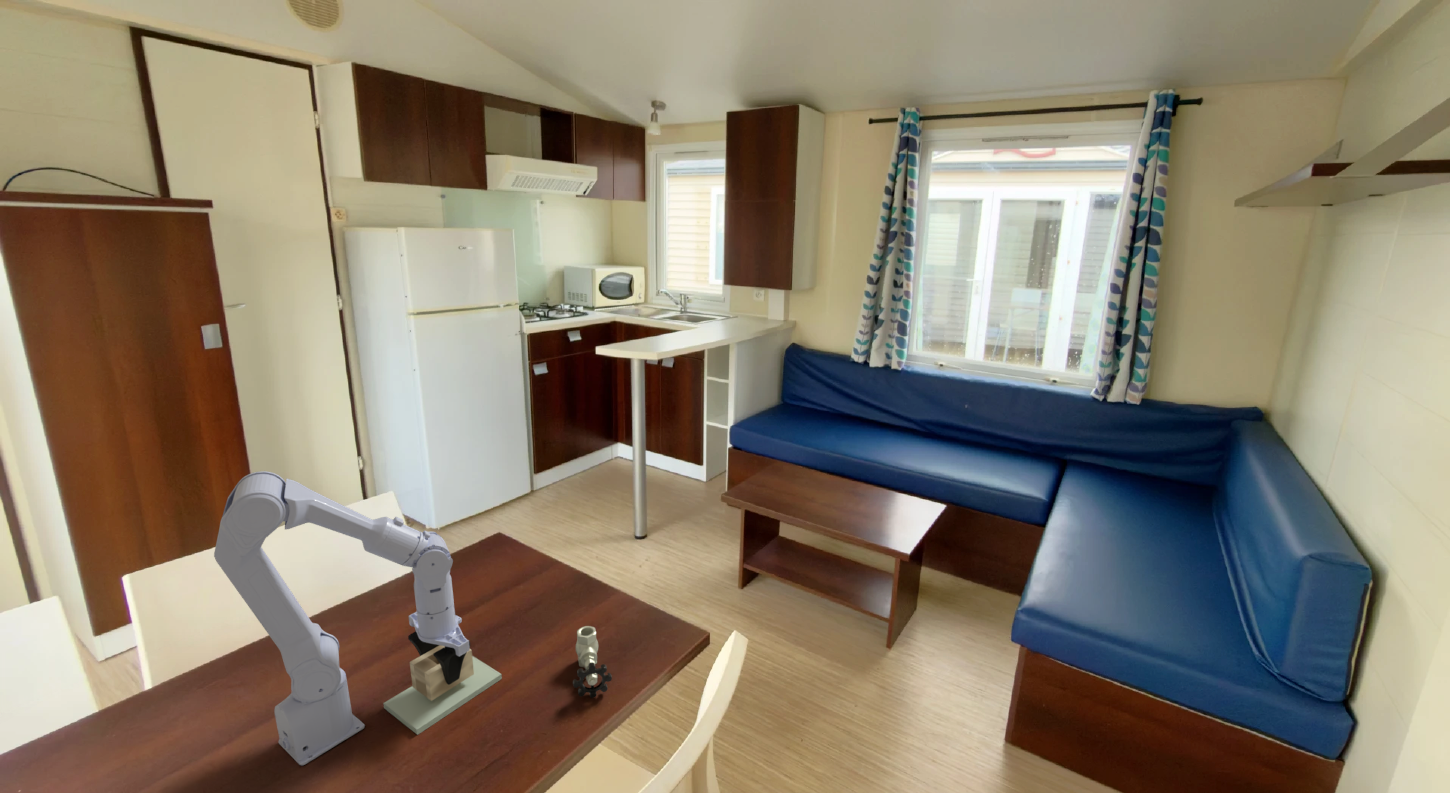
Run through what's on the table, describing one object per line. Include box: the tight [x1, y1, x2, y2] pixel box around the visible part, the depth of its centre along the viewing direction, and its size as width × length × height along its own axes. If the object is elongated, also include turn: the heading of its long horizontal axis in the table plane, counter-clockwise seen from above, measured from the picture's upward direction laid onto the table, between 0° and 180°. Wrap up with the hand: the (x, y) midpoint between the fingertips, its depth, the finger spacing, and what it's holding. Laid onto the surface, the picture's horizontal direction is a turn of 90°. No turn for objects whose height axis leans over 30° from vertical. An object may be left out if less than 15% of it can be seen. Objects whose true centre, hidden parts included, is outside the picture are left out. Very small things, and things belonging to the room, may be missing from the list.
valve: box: [572, 625, 613, 699], centre depth 114 cm, size 7×7×12 cm
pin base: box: [383, 655, 503, 736], centre depth 109 cm, size 16×10×4 cm, turn 146°
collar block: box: [409, 645, 474, 701], centre depth 109 cm, size 8×6×5 cm
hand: (442, 673), depth 109 cm, fingers closed on collar block, 5 cm apart
